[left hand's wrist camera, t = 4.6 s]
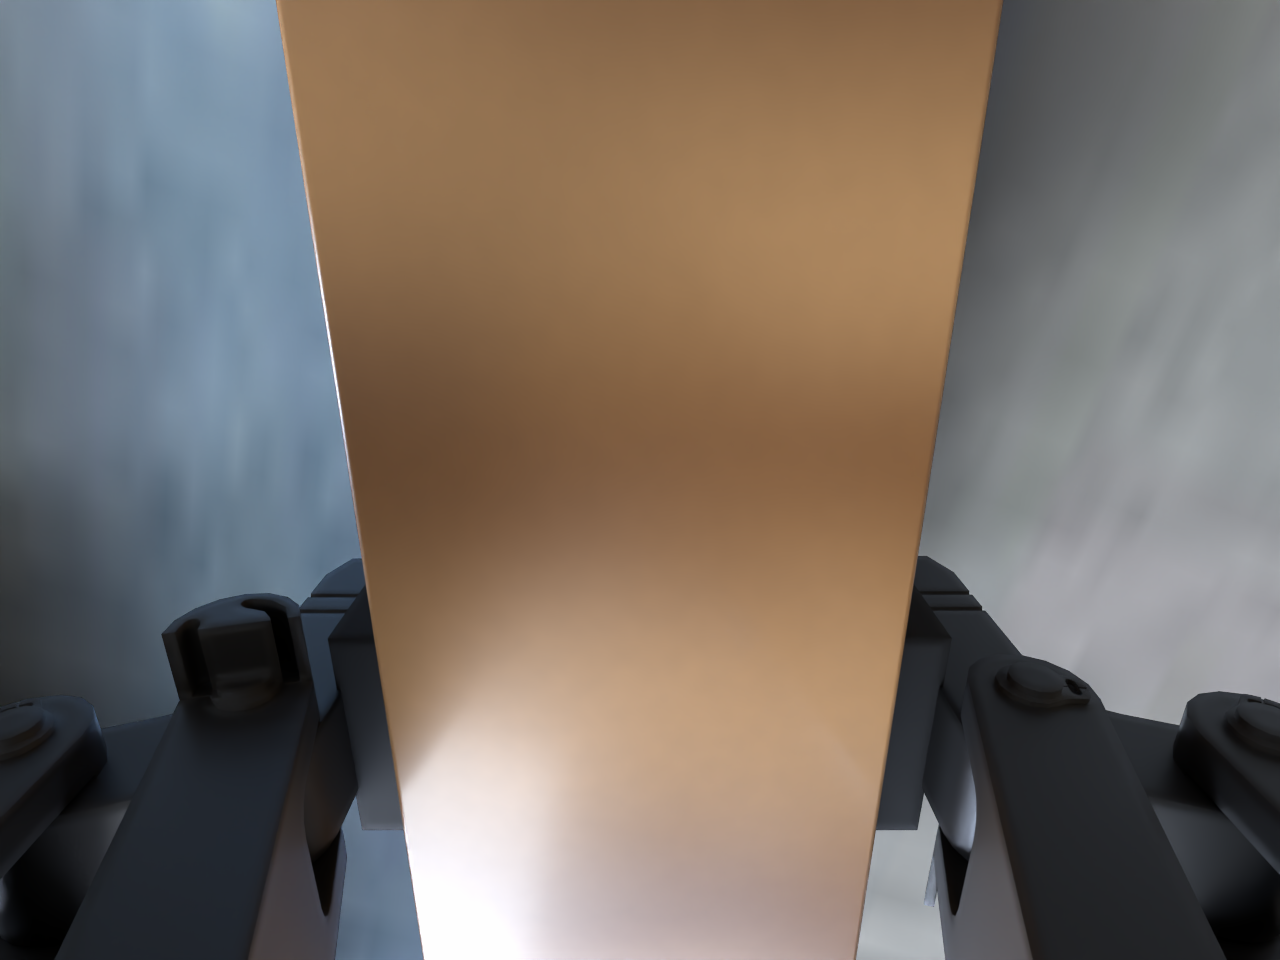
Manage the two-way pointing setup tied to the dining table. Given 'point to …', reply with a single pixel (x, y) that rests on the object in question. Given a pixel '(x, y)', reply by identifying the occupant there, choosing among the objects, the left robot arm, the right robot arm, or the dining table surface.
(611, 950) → the beam
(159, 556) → the dining table surface
